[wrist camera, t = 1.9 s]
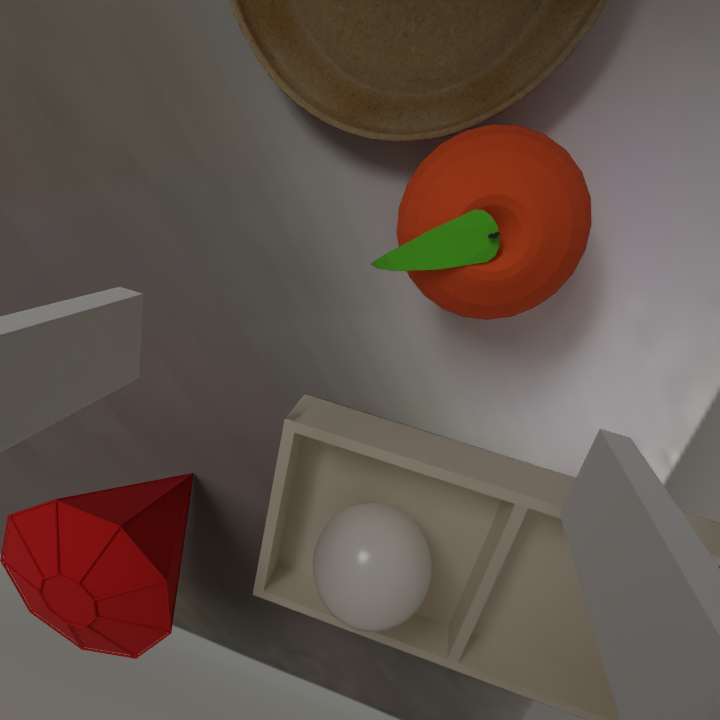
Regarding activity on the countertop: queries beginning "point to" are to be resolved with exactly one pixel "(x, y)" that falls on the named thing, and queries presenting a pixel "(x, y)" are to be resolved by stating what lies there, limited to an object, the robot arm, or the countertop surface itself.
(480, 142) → the clementine
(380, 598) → the white ball
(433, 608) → the divided tray
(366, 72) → the plant saucer
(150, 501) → the gemstone
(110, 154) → the countertop surface
